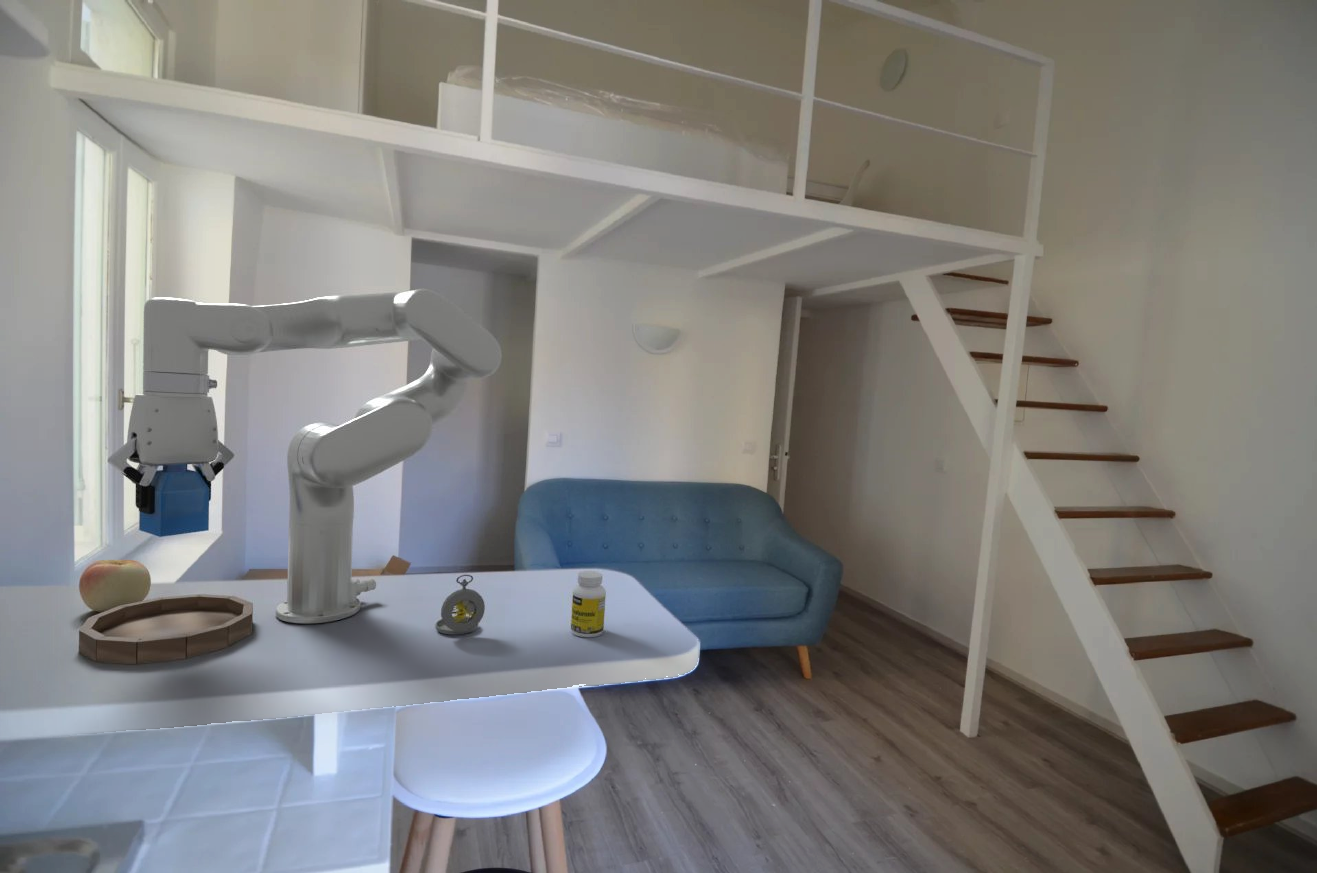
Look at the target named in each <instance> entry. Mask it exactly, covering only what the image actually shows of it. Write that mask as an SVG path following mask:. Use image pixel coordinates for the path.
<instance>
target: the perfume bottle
mask: <svg viewBox="0 0 1317 873" xmlns="http://www.w3.org/2000/svg"><path fill="white" fill-rule="evenodd" d="M151 485H153V486H155V512H154V513H153V514H146V513H142V512H139V511H138V512H139V513H138V514H139V517H138V518H139V519H138V520H139V522H138V525H139V526H138V531H141V532H144V533H147V534H150V535H153V536H156V537H159V538H162V537H170V536H177V535H178V536H179V535H184V534H192V533H199V532H207V531H209V528H210V527H209V526H210V501H209V488H208V486H207V485H206V483H205V482H204V480H203V479H202V478H201V476H200V475H199V473H198V472H197V471H194V470H191V469H188V464H184V465H177V464H176V465H165V466H162V469H157V471H156V473H155V475H154V477H153V479H152V481H151Z"/></svg>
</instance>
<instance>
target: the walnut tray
mask: <svg viewBox="0 0 1317 873" xmlns="http://www.w3.org/2000/svg"><path fill="white" fill-rule="evenodd" d="M253 609H254V603H253V602H251V601H249V600H246V599H243V598H241V597H238V596H235V595H223V594H220V595H219V594H206V593H200V594H188V595H174V596H173V595H172V596H162V597H157V598H151V599H146V600H145V599H144V600H143V601H140V602H135V603H130V604H125V605H120V606H117V607H115V608H112V609H110V610H107V611H101V612H98V613H97V614H95V615H92V616H90V617H88V618H87V619H86V620H85V621H84V622H83V624H82V626H81V627H80V628H79V629H78V652H79V653H80V654H81V655H84V656H85V657H86V658H89V659H91V661H92V660H93V661H94V662H96V663H111V664H114V663H115V664H125V665H126V664H127V665H141V664H150V663H158V662H159V663H160V662H168V661H176V660H184V659H189V658H192V657H196V656H200V655H203V654H207V653H211V652H214V651H218V650H221V649H224V648H228V647H230V646H232V645H233V644H235V643H237V642H238V641H240V640H242V639H243V638H246V637H248V636H249V635H250V634H252V629H253V621H254V619H253V615H254V611H253Z"/></svg>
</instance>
